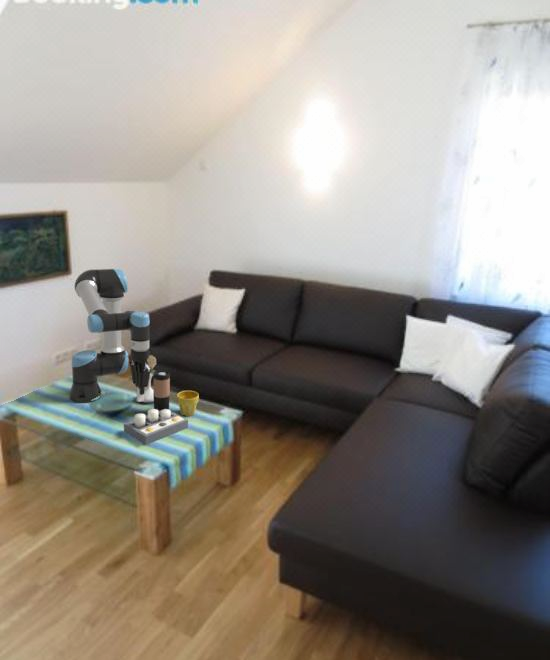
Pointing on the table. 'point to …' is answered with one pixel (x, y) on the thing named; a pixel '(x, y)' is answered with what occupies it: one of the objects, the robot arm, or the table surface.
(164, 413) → the button
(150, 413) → the button
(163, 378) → the travel mug
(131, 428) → the tray
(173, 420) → the strip
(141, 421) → the button
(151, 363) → the flower in vase
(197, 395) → the plant pot
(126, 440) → the table surface
